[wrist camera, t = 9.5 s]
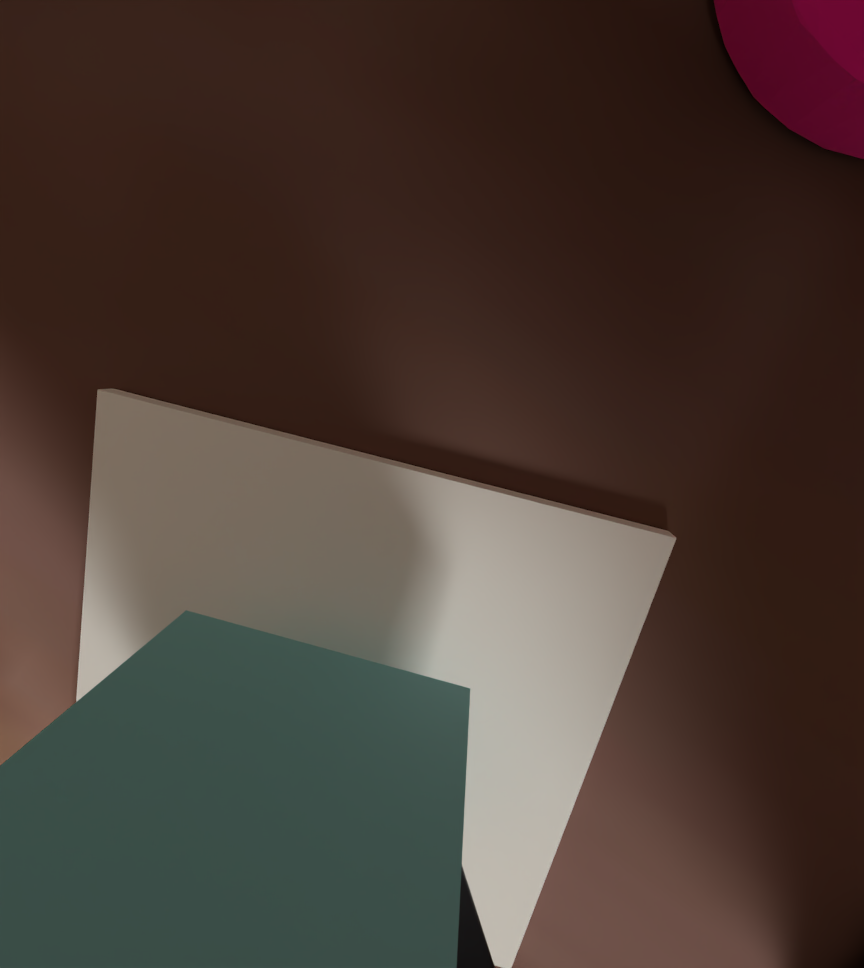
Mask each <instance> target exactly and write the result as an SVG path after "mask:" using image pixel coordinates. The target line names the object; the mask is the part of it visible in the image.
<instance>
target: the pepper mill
mask: <svg viewBox="0 0 864 968" xmlns="http://www.w3.org/2000/svg"><path fill="white" fill-rule="evenodd" d="M714 5H715V10H716V15H717V19H718V23H719V27H720V30H721V34H722V38H723V42H724V45H725V48H726V50H727V52H728V54H729V56H730V58H731V60H732V62H733V64H734V66H735V68H736V69H737V71H738V73H739V74H740V76H741V78H742V79H743V81H744V83H745V84H746V86H747V87H748V89H749V91H750V92H751V94H752V96H753V97H754V98H755V99H756V100H757V101H758V102H759V103H760V104H761V105H762V106H763V107H764V108H765V109H766V110H768V111H769V112H770V113H771V114H772V115H773V116H774V117H776V118H777V119H778V120H779V121H780V122H781V123H783V124H784V125H785V126H786V127H787V128H788V129H790V130H792V131H793V132H795V133H797V134H799V135H801V136H802V137H804V138H806V139H808V140H809V141H811V142H813V143H815V144H817V145H818V146H820V147H822V148H824V149H827V150H831V151H835V152H839V153H842V154H846V155H850V156H853V157H857V158H861V159H864V0H714Z"/></svg>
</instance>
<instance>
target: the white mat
mask: <svg viewBox="0 0 864 968" xmlns="http://www.w3.org/2000/svg"><path fill="white" fill-rule="evenodd" d="M675 541H676V537H675V536H674V535H673V534H672V533H670V532H669V531H667V530H663V529H659V528H655V527H651V526H648V525H644V524H640V523H636V522H632V521H628V520H624V519H620V518H616V517H612V516H609V515H605V514H601V513H597V512H593V511H589V510H585V509H581V508H577V507H573V506H570V505H566V504H562V503H558V502H554V501H550V500H546V499H542V498H538V497H534V496H531V495H527V494H523V493H519V492H515V491H511V490H507V489H503V488H499V487H495V486H492V485H488V484H484V483H480V482H476V481H472V480H468V479H464V478H460V477H456V476H453V475H449V474H445V473H441V472H437V471H433V470H429V469H425V468H421V467H417V466H414V465H410V464H406V463H402V462H398V461H394V460H390V459H386V458H382V457H378V456H375V455H371V454H367V453H363V452H359V451H355V450H351V449H347V448H343V447H339V446H336V445H332V444H328V443H324V442H320V441H316V440H312V439H308V438H304V437H300V436H297V435H293V434H289V433H285V432H281V431H277V430H273V429H269V428H265V427H261V426H258V425H254V424H250V423H246V422H242V421H238V420H234V419H230V418H226V417H222V416H219V415H215V414H211V413H207V412H203V411H199V410H195V409H191V408H187V407H183V406H179V405H176V404H172V403H168V402H164V401H160V400H156V399H152V398H148V397H144V396H140V395H137V394H133V393H129V392H125V391H121V390H117V389H113V388H110V389H98V390H97V405H96V419H95V434H94V449H93V463H92V478H91V492H90V507H89V522H88V536H87V551H86V565H85V580H84V595H83V609H82V624H81V638H80V653H79V668H78V682H77V697H76V702H77V701H78V700H79V699H81V698H82V697H83V696H84V695H85V694H87V693H88V692H89V691H90V690H91V689H93V688H94V687H95V686H96V685H97V684H99V683H100V682H101V681H102V680H103V679H105V678H106V677H107V676H108V675H109V674H110V673H112V672H113V671H114V670H115V669H116V668H118V667H119V666H120V665H121V664H122V663H124V662H125V661H126V660H127V659H128V658H130V657H131V656H132V655H133V654H134V653H136V652H137V651H138V650H139V649H140V648H142V647H143V646H144V645H145V644H146V643H148V642H149V641H150V640H151V639H152V638H154V637H155V636H156V635H157V634H158V633H160V632H161V631H162V630H163V629H164V628H165V627H167V626H168V625H169V624H170V623H171V622H173V621H174V620H175V619H176V618H177V617H179V616H180V615H181V614H182V613H183V612H185V611H186V610H187V611H191V612H194V613H198V614H202V615H205V616H209V617H213V618H216V619H220V620H223V621H227V622H231V623H234V624H238V625H242V626H245V627H249V628H253V629H256V630H260V631H263V632H267V633H271V634H274V635H278V636H282V637H285V638H289V639H292V640H296V641H300V642H303V643H307V644H311V645H314V646H318V647H322V648H325V649H329V650H332V651H336V652H340V653H343V654H347V655H351V656H354V657H358V658H362V659H365V660H369V661H372V662H376V663H380V664H383V665H387V666H391V667H394V668H398V669H402V670H405V671H409V672H412V673H416V674H420V675H423V676H427V677H431V678H434V679H438V680H441V681H445V682H449V683H452V684H456V685H460V686H463V687H467V688H470V705H469V725H468V746H467V766H466V786H465V807H464V827H463V847H462V867H463V870H464V873H465V876H466V879H467V882H468V885H469V888H470V892H471V895H472V898H473V901H474V904H475V907H476V910H477V913H478V916H479V920H480V923H481V926H482V929H483V932H484V935H485V938H486V941H487V944H488V948H489V951H490V954H491V957H492V960H493V963H494V965H496V966H499V967H502V968H511V967H512V965H513V962H514V960H515V957H516V954H517V952H518V949H519V947H520V944H521V941H522V939H523V936H524V934H525V931H526V928H527V926H528V923H529V921H530V918H531V915H532V913H533V910H534V908H535V905H536V902H537V900H538V897H539V895H540V892H541V889H542V887H543V884H544V882H545V879H546V876H547V874H548V871H549V869H550V866H551V863H552V861H553V858H554V856H555V853H556V850H557V848H558V845H559V843H560V840H561V837H562V835H563V832H564V830H565V827H566V824H567V822H568V819H569V817H570V814H571V811H572V809H573V806H574V804H575V801H576V798H577V796H578V793H579V791H580V788H581V785H582V783H583V780H584V778H585V775H586V772H587V770H588V767H589V765H590V762H591V759H592V757H593V754H594V752H595V749H596V746H597V744H598V741H599V739H600V736H601V733H602V731H603V728H604V726H605V723H606V720H607V718H608V715H609V712H610V710H611V707H612V705H613V702H614V699H615V697H616V694H617V692H618V689H619V686H620V684H621V681H622V679H623V676H624V673H625V671H626V668H627V666H628V663H629V660H630V658H631V655H632V653H633V650H634V647H635V645H636V642H637V640H638V637H639V634H640V632H641V629H642V627H643V624H644V621H645V619H646V616H647V614H648V611H649V608H650V606H651V603H652V601H653V598H654V595H655V593H656V590H657V588H658V585H659V582H660V580H661V577H662V575H663V572H664V569H665V567H666V564H667V562H668V559H669V556H670V554H671V551H672V549H673V546H674V543H675Z"/></svg>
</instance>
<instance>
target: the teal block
mask: <svg viewBox="0 0 864 968" xmlns="http://www.w3.org/2000/svg"><path fill="white" fill-rule="evenodd" d="M469 705H470V688H467V687H463V686H460V685H456V684H452V683H449V682H445V681H441V680H438V679H434V678H431V677H427V676H423V675H420V674H416V673H412V672H409V671H405V670H402V669H398V668H394V667H391V666H387V665H383V664H380V663H376V662H372V661H369V660H365V659H362V658H358V657H354V656H351V655H347V654H343V653H340V652H336V651H332V650H329V649H325V648H322V647H318V646H314V645H311V644H307V643H303V642H300V641H296V640H292V639H289V638H285V637H282V636H278V635H274V634H271V633H267V632H263V631H260V630H256V629H253V628H249V627H245V626H242V625H238V624H234V623H231V622H227V621H223V620H220V619H216V618H213V617H209V616H205V615H202V614H198V613H194V612H191V611H187V610H186V611H185V612H183V613H182V614H181V615H180V616H179V617H177V618H176V619H175V620H174V621H173V622H171V623H170V624H169V625H168V626H167V627H165V628H164V629H163V630H162V631H161V632H160V633H158V634H157V635H156V636H155V637H154V638H152V639H151V640H150V641H149V642H148V643H146V644H145V645H144V646H143V647H142V648H140V649H139V650H138V651H137V652H136V653H134V654H133V655H132V656H131V657H130V658H128V659H127V660H126V661H125V662H124V663H122V664H121V665H120V666H119V667H118V668H116V669H115V670H114V671H113V672H112V673H110V674H109V675H108V676H107V677H106V678H105V679H103V680H102V681H101V682H100V683H99V684H97V685H96V686H95V687H94V688H93V689H91V690H90V691H89V692H88V693H87V694H85V695H84V696H83V697H82V698H81V699H79V700H78V701H77V702H76V703H75V704H73V705H72V706H71V707H70V708H69V709H67V710H66V711H65V712H64V713H63V714H61V715H60V716H59V717H58V718H57V719H55V720H54V721H53V722H52V723H51V724H50V725H48V726H47V727H46V728H45V729H44V730H42V731H41V732H40V733H39V734H38V735H36V736H35V737H34V738H33V739H32V740H30V741H29V742H28V743H27V744H26V745H24V746H23V747H22V748H21V749H20V750H18V751H17V752H16V753H15V754H14V755H12V756H11V757H10V758H9V759H8V760H6V761H5V762H4V763H3V764H2V765H1V766H0V968H457V948H458V928H459V908H460V888H461V867H462V847H463V827H464V807H465V786H466V766H467V746H468V725H469Z"/></svg>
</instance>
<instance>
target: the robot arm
mask: <svg viewBox="0 0 864 968" xmlns="http://www.w3.org/2000/svg"><path fill="white" fill-rule="evenodd" d="M457 968H495V966H494V963H493V960H492V957H491V954H490V951H489V948H488V944H487V941H486V938H485V935H484V932H483V929H482V926H481V923H480V920H479V916H478V913H477V910H476V907H475V904H474V901H473V898H472V895H471V892H470V888H469V885H468V882H467V879H466V876H465V873H464V870H463V867H461V888H460V908H459V928H458V948H457Z"/></svg>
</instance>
